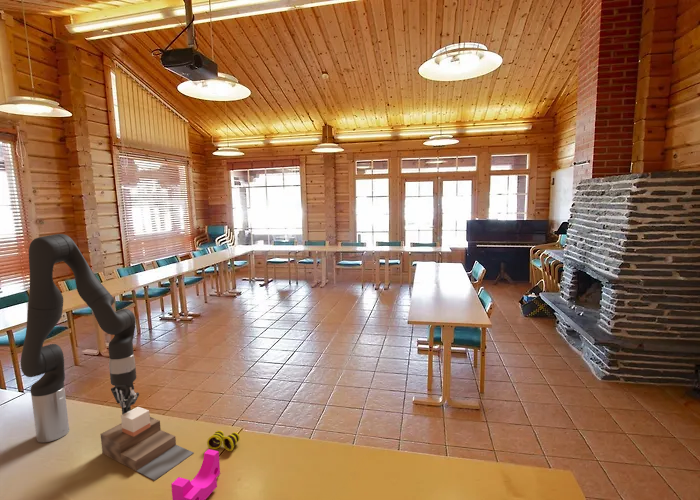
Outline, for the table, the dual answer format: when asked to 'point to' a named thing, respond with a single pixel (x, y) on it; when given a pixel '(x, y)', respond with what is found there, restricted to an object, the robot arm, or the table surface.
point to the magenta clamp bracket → (199, 480)
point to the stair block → (144, 449)
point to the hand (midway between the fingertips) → (126, 415)
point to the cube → (135, 421)
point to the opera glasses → (228, 441)
